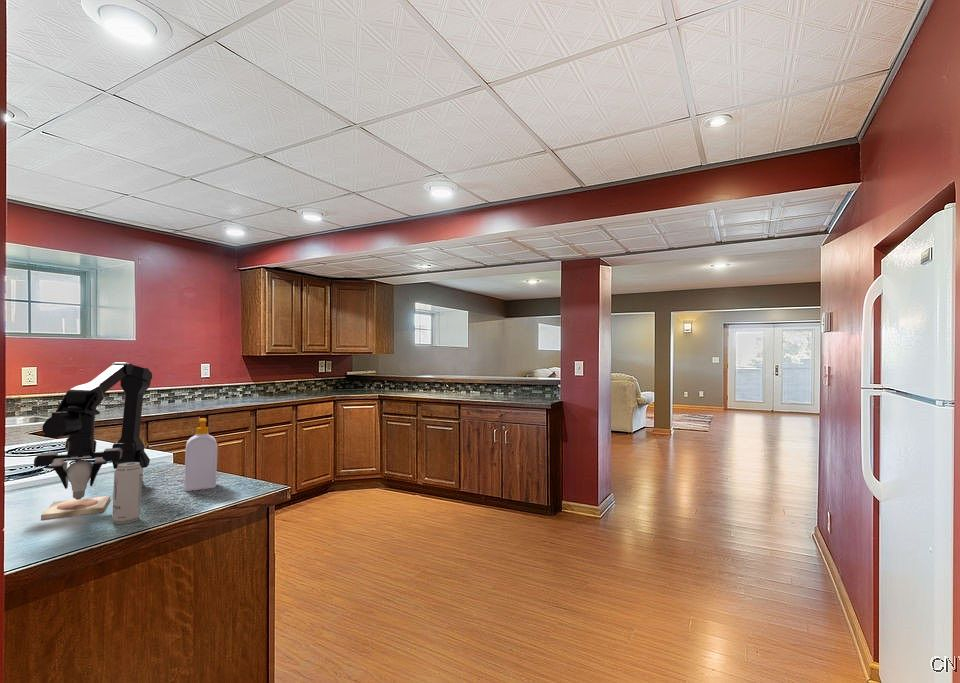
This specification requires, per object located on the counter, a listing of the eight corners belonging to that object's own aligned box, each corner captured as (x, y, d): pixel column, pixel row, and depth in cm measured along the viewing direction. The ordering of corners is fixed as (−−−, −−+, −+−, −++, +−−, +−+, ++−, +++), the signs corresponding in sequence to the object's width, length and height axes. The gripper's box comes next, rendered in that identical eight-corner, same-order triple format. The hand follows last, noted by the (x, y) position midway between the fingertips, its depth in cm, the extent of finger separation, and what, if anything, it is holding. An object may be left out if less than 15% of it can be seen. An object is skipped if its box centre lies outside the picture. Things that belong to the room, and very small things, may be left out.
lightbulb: (97, 498, 136) (99, 459, 137) (73, 503, 130) (75, 463, 131) (83, 495, 138) (85, 457, 139) (58, 501, 132) (61, 461, 133)
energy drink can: (110, 520, 125) (113, 463, 126) (138, 515, 130) (140, 460, 130) (113, 526, 121) (116, 467, 122) (142, 521, 125) (144, 464, 126)
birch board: (110, 499, 143) (110, 495, 143) (102, 511, 132) (103, 507, 132) (53, 505, 136) (53, 501, 136) (40, 519, 125) (41, 514, 125)
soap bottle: (214, 483, 163) (217, 416, 164) (216, 487, 158) (218, 419, 158) (184, 486, 159) (186, 418, 159) (184, 491, 153) (187, 420, 154)
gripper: (125, 426, 147) (123, 476, 146) (45, 430, 137) (43, 484, 136) (120, 431, 137) (118, 485, 137) (34, 436, 127) (31, 494, 127)
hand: (79, 487), depth 134 cm, fingers closed on lightbulb, 5 cm apart
